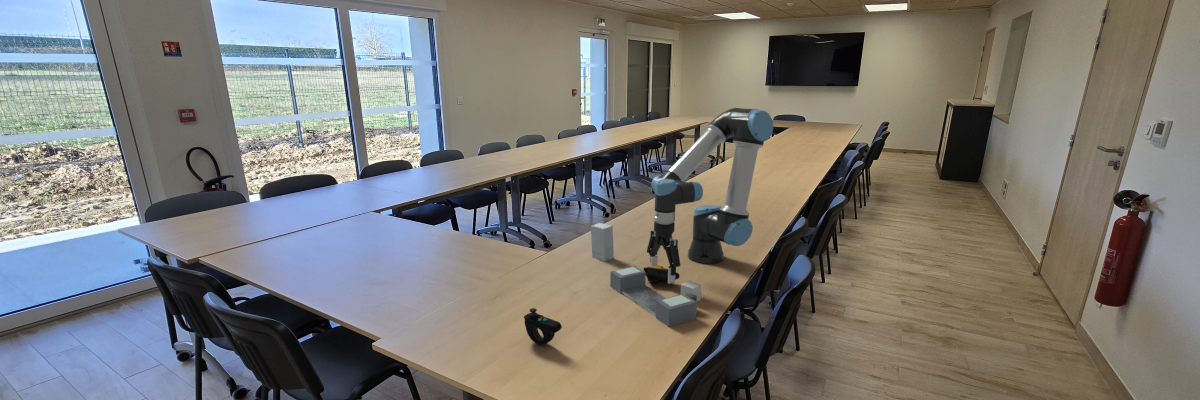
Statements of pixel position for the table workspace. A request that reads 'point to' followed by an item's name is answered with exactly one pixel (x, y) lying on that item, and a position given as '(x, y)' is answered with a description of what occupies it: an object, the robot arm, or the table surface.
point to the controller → (540, 327)
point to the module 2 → (676, 310)
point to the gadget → (658, 274)
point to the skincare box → (602, 241)
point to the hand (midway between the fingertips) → (662, 277)
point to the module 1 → (627, 278)
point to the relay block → (691, 289)
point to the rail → (643, 297)
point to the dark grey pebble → (692, 296)
